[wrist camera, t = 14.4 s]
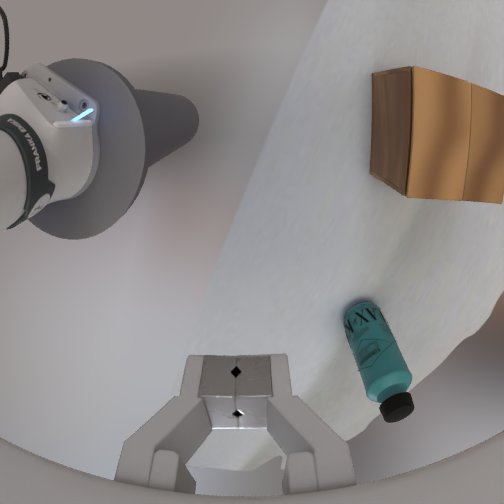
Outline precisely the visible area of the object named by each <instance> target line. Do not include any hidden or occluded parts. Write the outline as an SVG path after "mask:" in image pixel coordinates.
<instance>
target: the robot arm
mask: <svg viewBox="0 0 504 504" xmlns="http://www.w3.org/2000/svg"><path fill="white" fill-rule="evenodd" d="M0 15H1V17H2V20H3V25H4V34H5V52H4V60H3V66H2V67H0V233H1V232H2V231H4V230H5V229H11V228H13V227H15V226H17V225H18V224H20V223H21V222H23V221H25V220H26V219H29V218H31V217H32V216H34V215H35V214H36V213H38V212H39V211H40V210H41V209H42V208H44V207H45V205H46V204H49V203H51V202H55V201H58V200H67V199H72V198H74V197H76V196H78V195H80V194H81V193H83V192H84V191H85V190H86V189H87V188H88V187H89V185H90V184H91V182H92V181H93V179H94V177H95V174H96V172H97V169H98V165H99V159H100V142H99V136H98V122H99V117H100V111H101V107H100V104H99V102H98V101H96V100H95V99H93V98H92V97H91V96H89V95H88V94H86V93H85V92H83V91H82V90H80V89H79V88H78V87H76V86H75V85H73V84H72V83H70V82H69V81H67V80H66V79H64V78H63V77H61V76H60V75H58V74H57V73H55V72H54V71H52V70H51V69H49V68H48V67H46V66H45V65H43V64H42V63H35V64H33V65H31V66H29V67H28V68H27V69H26V70H24V71H23V72H22V74H20V75H19V73H18V72H9V73H6V75H5V76H4V77H2V71H4V70H5V69H6V67H7V62H8V56H9V26H8V20H7V16H6V14H5V12H4V10H3V9H2V8H1V6H0ZM26 76H27V77H26ZM85 103H87V107H86V108H85V107H84V105H85ZM234 428H246V429H262V428H267V430H268V432H269V433H270V435H271V436H272V437H273V438H274V440H275V441H276V442H277V444H278V445H279V446H280V448H281V449H282V450H283V452H284V453H285V454H286V455H287V461H286V466H285V471H284V476H283V481H282V488H283V495H277V496H247V497H246V496H213V495H199V494H195V490H196V481H195V480H194V478H193V477H192V475H191V474H190V472H189V471H188V469H187V468H186V466H185V464H186V463H187V462H188V461H189V459H190V458H191V457H192V456H193V454H194V453H195V452H196V451H197V449H198V448H199V447H200V446H201V444H202V443H203V442H204V440H205V439H206V438H207V437H208V435H209V434H210V433H211V431H212V429H234ZM0 504H504V431H502V432H500V433H498V434H497V435H495V436H493V437H491V438H489V439H488V440H485V441H484V442H481V443H479V444H477V445H475V446H473V447H471V448H469V449H467V450H464V451H462V452H460V453H457V454H455V455H453V456H450V457H448V458H445V459H443V460H441V461H438V462H435V463H433V464H430V465H427V466H424V467H421V468H418V469H415V470H412V471H409V472H406V473H402V474H399V475H396V476H392V477H388V478H385V479H381V480H377V481H373V482H369V483H364V484H360V485H356V480H355V475H354V470H353V465H352V460H351V455H350V451H349V446H348V444H347V443H346V442H345V441H344V440H343V439H342V438H341V437H339V436H338V435H337V434H336V433H335V432H334V431H333V430H332V429H331V428H330V427H329V426H328V425H327V424H326V423H325V422H324V421H323V420H322V419H321V418H319V417H318V416H317V415H316V414H315V413H314V412H313V411H312V410H311V409H310V408H309V407H308V406H307V405H306V404H305V403H304V402H303V401H302V400H301V399H300V398H299V397H298V396H292V389H291V381H290V373H289V365H288V357H287V355H286V354H270V356H269V354H265V355H238V356H215V355H189V356H188V358H187V360H186V365H185V370H184V375H183V380H182V385H181V390H180V395H179V396H174V397H173V398H172V399H171V400H170V401H169V402H168V403H167V404H166V405H165V406H164V407H162V408H161V409H160V410H159V411H158V412H157V413H156V414H155V415H154V416H153V417H151V418H150V420H148V421H147V422H146V423H145V424H144V425H143V426H142V427H140V428H139V429H138V430H137V431H136V432H135V433H134V434H133V435H132V436H131V437H129V438H128V439H127V440H126V441H125V442H124V444H123V447H122V451H121V455H120V459H119V463H118V466H117V470H116V475H115V478H114V480H110V479H106V478H102V477H99V476H95V475H92V474H89V473H85V472H82V471H79V470H76V469H73V468H70V467H67V466H64V465H62V464H59V463H56V462H54V461H51V460H48V459H46V458H43V457H41V456H39V455H36V454H34V453H32V452H29V451H27V450H25V449H23V448H21V447H19V446H17V445H15V444H12V443H10V442H8V441H7V440H5V439H3V438H0Z"/></svg>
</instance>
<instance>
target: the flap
mask: <svg viewBox="0 0 504 504" xmlns="http://www.w3.org/2000/svg"><path fill="white" fill-rule="evenodd" d="M412 78H413V112H412V137H411V152H410V164H409V175H408V184H407V192H406V197H407V198H425V199H442V200H457V201H462V197H463V191H464V185H465V178H466V170H467V162H468V152H469V141H470V126H471V83H470V82H467V81H464V80H461V79H458V78H455V77H452V76H448V75H445V74H442V73H438V72H435V71H431V70H427V69H423V68H419V67H415V66H413V67H412Z"/></svg>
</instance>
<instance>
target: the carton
mask: <svg viewBox="0 0 504 504" xmlns="http://www.w3.org/2000/svg"><path fill="white" fill-rule="evenodd" d="M412 112H413V78H412V67H410V66H408V67H402V68H397V69H391V70H386V71H381V72H376V73H372V140H371V160H370V174H371V175H373V176H375V177H376V178H378V179H379V180H381V181H382V182H384V183H385V184H387V185H388V186H390V187H391V188H393V189H394V190H396V191H397V192H399V193H400V194H402V195H403V196H406V192H407V184H408V175H409V164H410V152H411V137H412ZM503 195H504V96H503V95H500V94H498V93H496V92H493V91H491V90H488V89H486V88H483V87H480V86H478V85H475V84H472V83H471V126H470V141H469V152H468V162H467V170H466V178H465V185H464V191H463V197H462V201H474V202H486V203H498V204H502V200H503Z"/></svg>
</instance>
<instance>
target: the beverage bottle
mask: <svg viewBox="0 0 504 504" xmlns="http://www.w3.org/2000/svg"><path fill="white" fill-rule="evenodd" d="M380 310H381V309H380V308H378V307H377V305H375V304H373V303H370V302H363V303H359V304H357V305H355V306H353V307H352V308H351V309H350V310H349V311H348V312H347V313H346V315H345V317H344V322H343V323H344V327H345V330H346V331H345V332H346V334H347V335H346V336H348V337H347V339H349V340H348V342H350V343H349V345H351V346H350V347H351V349H352V351H353V353H352V354H354V358H355V360H356V363H357V365H356V366H358V369H359V370H358V371H360V374H361V377H362V380H363V383H364V386H365V390H366V395H367V397H368V398H369V399H370V400H371V401H374V402H378V403H382V404H381V405H380V407H379V409H380V412H381V414H382V415H383V418H384V420H385V421H386V422H389V423H391V422H397V421H400V420H402V419H404V418H406V417H407V416H408V415H410V414H411V413H412V412H413V410H414V404H413V401H412V397H411V394H410V393H408V392H406V391H407V389H408V387H409V386H410V384H411V381H412V374H411V373H410V371H409V369H408V367H407V365H406V363H405V360H404V358H403V356H402V354H401V352H400V350H399V347H398V345H397V342H396V341H395V339H394V337H393V335H392V333H393V332H392V331H391V330H390V328H389V327H390V326H389V324H388V325H387V323H388V322H386V321H387V320H386V321H385V319H386V318H385V319H384V317H385V316H384V317H383V315H384V314H383V315H382V313H381V311H380ZM388 326H389V327H388ZM344 327H343V328H344Z"/></svg>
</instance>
